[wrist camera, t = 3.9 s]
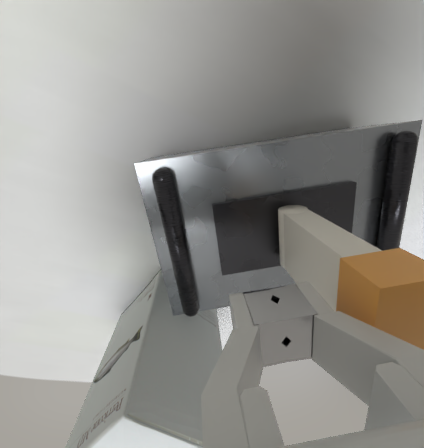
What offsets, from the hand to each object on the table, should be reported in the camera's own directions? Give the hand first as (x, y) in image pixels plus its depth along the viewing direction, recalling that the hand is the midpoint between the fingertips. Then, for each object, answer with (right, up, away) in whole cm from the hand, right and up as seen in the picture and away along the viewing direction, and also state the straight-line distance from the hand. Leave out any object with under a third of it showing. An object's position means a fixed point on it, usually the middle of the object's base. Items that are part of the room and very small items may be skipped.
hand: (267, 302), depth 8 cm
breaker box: (+2, +5, +12) cm, 13 cm away
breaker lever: (+3, +2, +6) cm, 7 cm away
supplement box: (-7, -6, +15) cm, 18 cm away
